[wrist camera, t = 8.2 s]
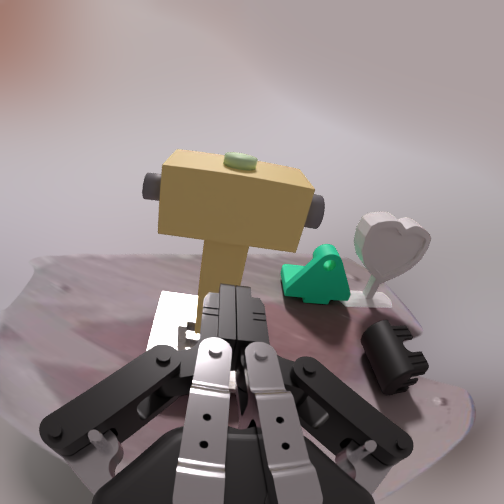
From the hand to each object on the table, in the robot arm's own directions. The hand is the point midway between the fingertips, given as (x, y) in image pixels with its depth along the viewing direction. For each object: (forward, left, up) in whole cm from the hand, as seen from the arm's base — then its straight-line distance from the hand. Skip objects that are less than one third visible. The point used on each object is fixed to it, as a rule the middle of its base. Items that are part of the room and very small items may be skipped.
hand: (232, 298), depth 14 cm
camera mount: (+18, +29, -21) cm, 40 cm away
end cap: (+26, +10, -21) cm, 35 cm away
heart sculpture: (+30, +28, -21) cm, 46 cm away
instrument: (0, +13, -17) cm, 21 cm away
